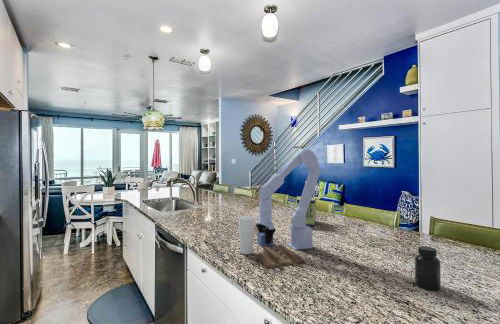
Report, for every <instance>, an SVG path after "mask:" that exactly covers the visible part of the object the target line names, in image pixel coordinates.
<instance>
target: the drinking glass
mask: <svg viewBox="0 0 500 324" xmlns="http://www.w3.org/2000/svg"><path fill="white" fill-rule="evenodd" d="M255 219H256V218H255V217H254V216H252V215H241V216H239V217H238V235H239V251H240V254H242V255H251V254H252V253H253V251H254V238H255V229H256V222H255V221H256V220H255Z"/></svg>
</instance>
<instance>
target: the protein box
mask: <svg viewBox="0 0 500 324" xmlns="http://www.w3.org/2000/svg"><path fill="white" fill-rule="evenodd" d="M301 196H302V195H300V196H299V197H298V198H297V199H296V208H297V207H298V204H299V201H300V198H301ZM316 215H317V197H316V196H312V198H311V201H310V204H309V207H308V210H307V213H306V219H305V220H306V223H305V224H306V225H307V226H309V227H310V228H315V226H316V223H317V219H316V218H317V217H316Z"/></svg>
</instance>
